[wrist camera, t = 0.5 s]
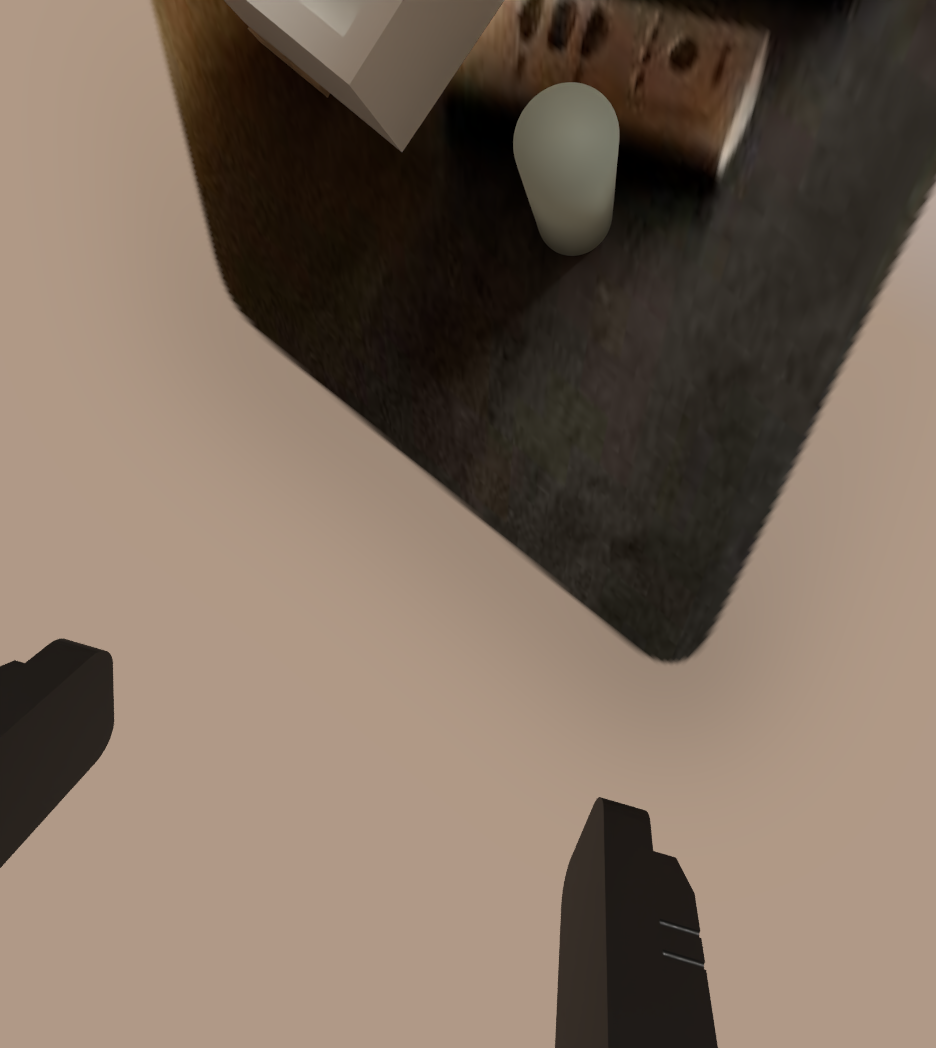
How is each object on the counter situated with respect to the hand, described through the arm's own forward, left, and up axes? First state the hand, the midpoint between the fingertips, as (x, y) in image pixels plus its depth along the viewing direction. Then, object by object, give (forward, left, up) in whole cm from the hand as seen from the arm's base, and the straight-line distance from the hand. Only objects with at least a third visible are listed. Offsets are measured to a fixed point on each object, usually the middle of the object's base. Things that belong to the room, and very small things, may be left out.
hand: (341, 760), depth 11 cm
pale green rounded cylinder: (-13, -7, -26) cm, 30 cm away
